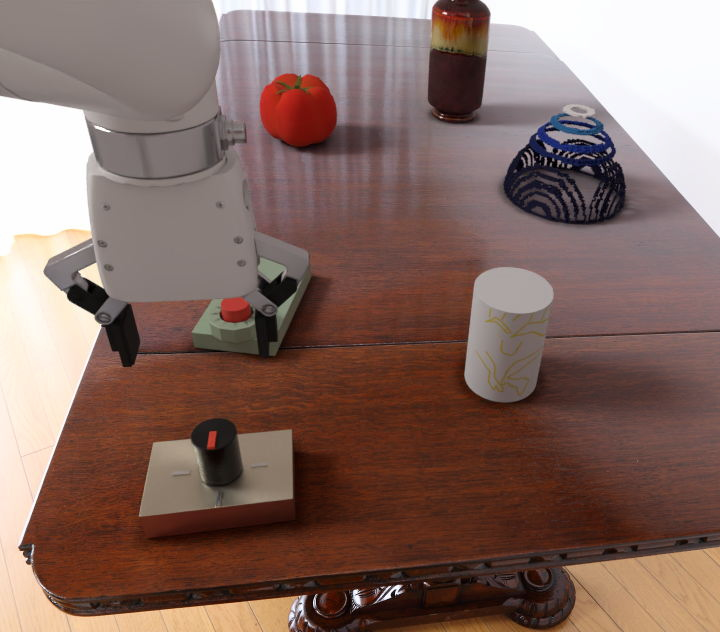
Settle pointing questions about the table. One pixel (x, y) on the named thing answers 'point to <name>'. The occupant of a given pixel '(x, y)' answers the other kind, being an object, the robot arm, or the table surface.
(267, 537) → the table surface
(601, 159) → the decorative bowl
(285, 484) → the panel
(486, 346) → the white patterned cylinder
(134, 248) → the robot arm
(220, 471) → the hob knob
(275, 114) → the tomato
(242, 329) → the switch box
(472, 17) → the vase
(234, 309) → the button
